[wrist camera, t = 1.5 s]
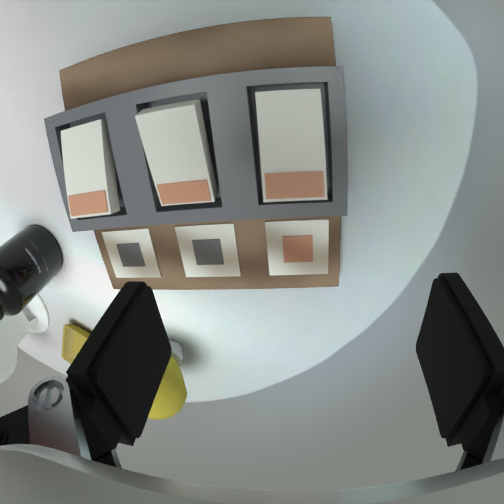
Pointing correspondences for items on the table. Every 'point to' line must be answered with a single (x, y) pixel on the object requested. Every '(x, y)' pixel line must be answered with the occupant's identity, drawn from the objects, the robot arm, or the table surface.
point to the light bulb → (170, 387)
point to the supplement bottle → (26, 268)
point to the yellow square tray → (73, 341)
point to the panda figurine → (20, 332)
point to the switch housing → (220, 144)
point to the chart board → (214, 232)
